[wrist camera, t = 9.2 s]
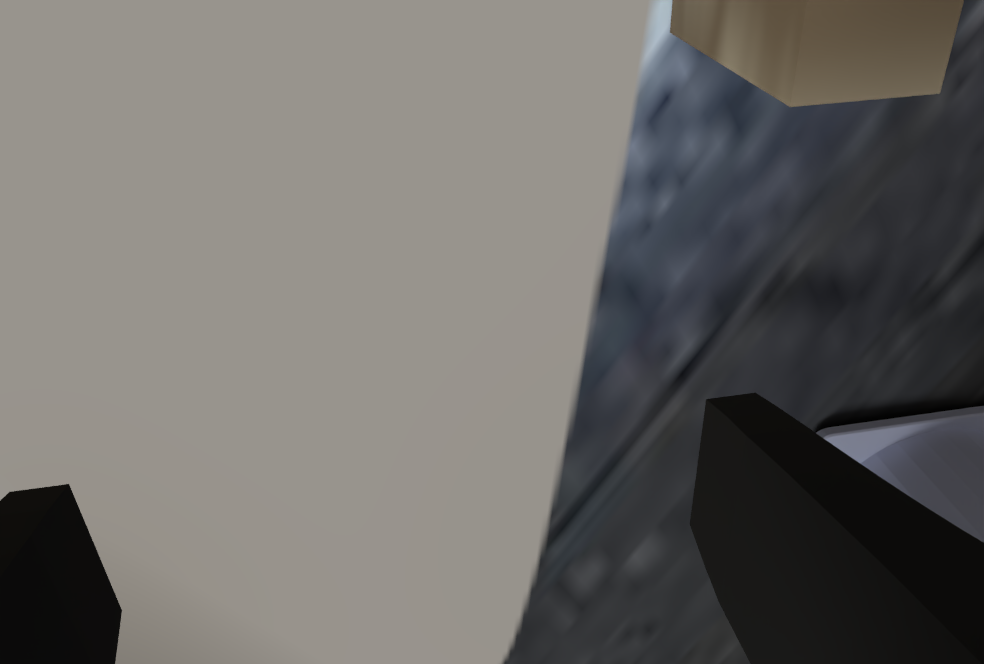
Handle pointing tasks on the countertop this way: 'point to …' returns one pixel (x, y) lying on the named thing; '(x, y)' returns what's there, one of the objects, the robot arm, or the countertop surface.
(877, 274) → the countertop surface
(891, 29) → the corded block
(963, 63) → the countertop surface
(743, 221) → the countertop surface
